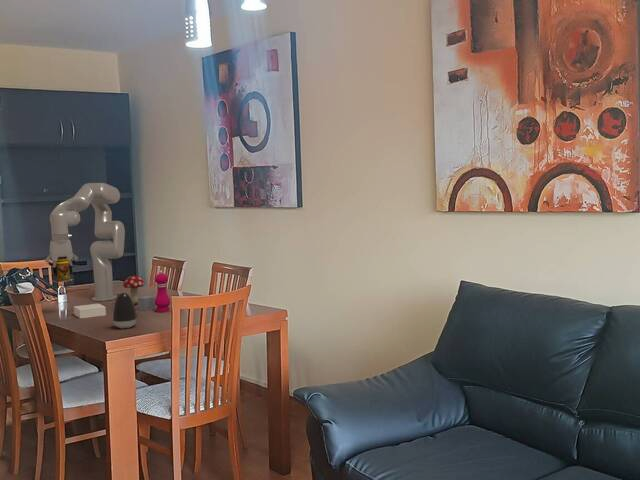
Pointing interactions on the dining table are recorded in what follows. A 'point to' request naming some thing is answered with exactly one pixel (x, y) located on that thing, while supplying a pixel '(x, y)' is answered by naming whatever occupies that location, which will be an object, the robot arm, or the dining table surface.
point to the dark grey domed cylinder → (124, 311)
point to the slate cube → (146, 303)
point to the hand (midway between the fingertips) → (62, 274)
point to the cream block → (89, 310)
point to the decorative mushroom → (134, 286)
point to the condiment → (62, 270)
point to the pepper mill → (161, 293)
